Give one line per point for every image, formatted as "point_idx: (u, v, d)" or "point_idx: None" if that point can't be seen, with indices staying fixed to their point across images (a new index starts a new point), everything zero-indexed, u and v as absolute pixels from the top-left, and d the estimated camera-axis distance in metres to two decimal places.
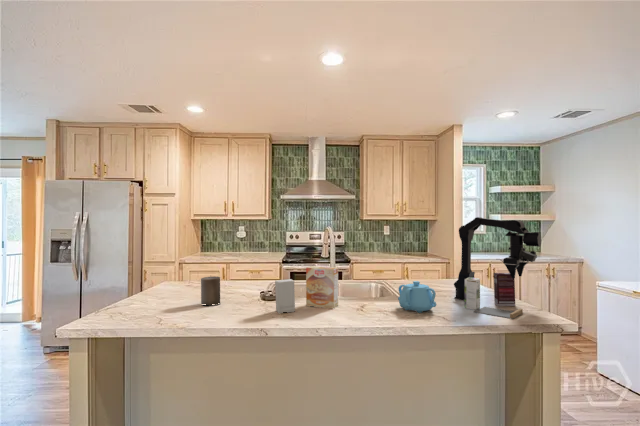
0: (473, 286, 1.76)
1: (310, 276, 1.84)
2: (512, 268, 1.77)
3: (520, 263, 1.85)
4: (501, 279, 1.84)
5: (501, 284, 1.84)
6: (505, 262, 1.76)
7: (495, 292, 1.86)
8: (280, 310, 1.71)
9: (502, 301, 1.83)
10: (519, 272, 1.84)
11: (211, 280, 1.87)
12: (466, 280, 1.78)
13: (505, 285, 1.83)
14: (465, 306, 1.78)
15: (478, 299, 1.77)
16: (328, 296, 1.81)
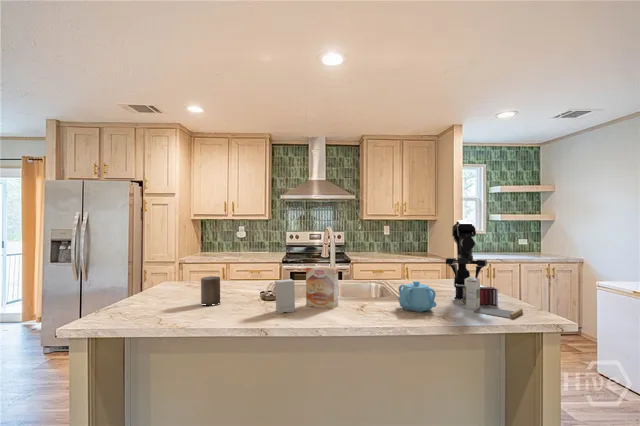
0: (473, 286, 1.76)
1: (310, 276, 1.84)
2: None
3: None
4: None
5: None
6: None
7: None
8: (280, 310, 1.71)
9: (493, 301, 1.84)
10: None
11: (211, 280, 1.87)
12: (466, 280, 1.78)
13: None
14: (465, 306, 1.78)
15: (478, 299, 1.77)
16: (328, 296, 1.81)
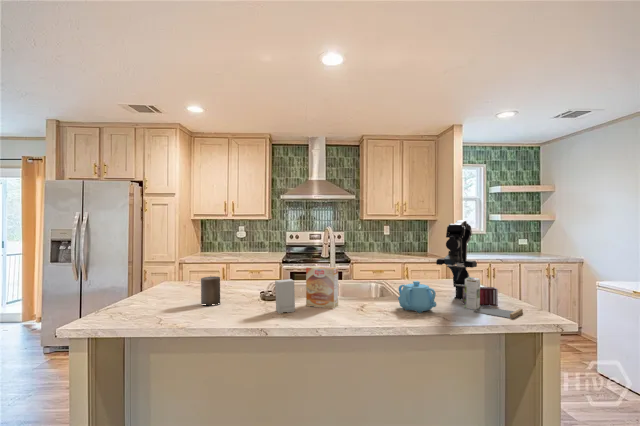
0: (473, 286, 1.76)
1: (310, 276, 1.84)
2: None
3: None
4: None
5: None
6: None
7: None
8: (280, 310, 1.71)
9: (493, 301, 1.84)
10: None
11: (211, 280, 1.87)
12: (466, 280, 1.78)
13: None
14: (465, 306, 1.78)
15: (478, 299, 1.77)
16: (328, 296, 1.81)
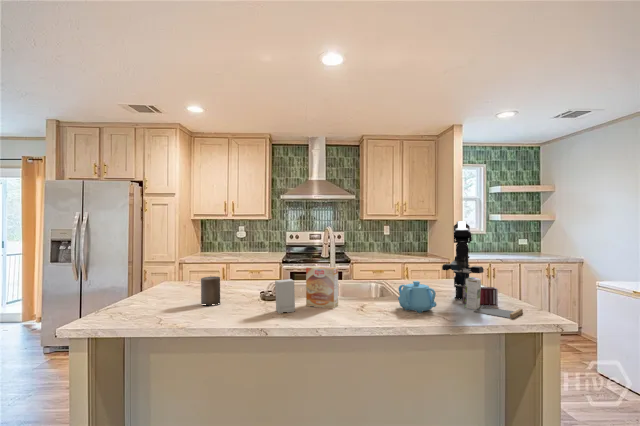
0: (473, 286, 1.76)
1: (310, 276, 1.84)
2: None
3: None
4: None
5: None
6: None
7: None
8: (280, 310, 1.71)
9: (493, 301, 1.84)
10: None
11: (211, 280, 1.87)
12: (467, 280, 1.78)
13: None
14: (465, 306, 1.78)
15: (478, 299, 1.77)
16: (328, 296, 1.81)
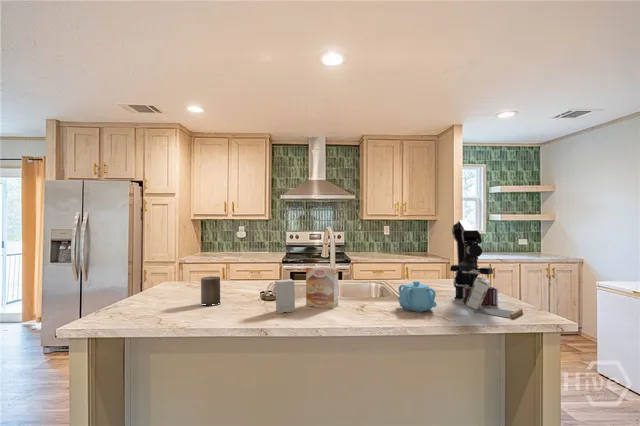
0: (481, 288, 1.74)
1: (310, 276, 1.84)
2: None
3: None
4: None
5: None
6: None
7: None
8: (280, 310, 1.71)
9: (493, 301, 1.84)
10: None
11: (211, 280, 1.87)
12: (477, 280, 1.75)
13: None
14: (466, 303, 1.78)
15: (482, 300, 1.76)
16: (328, 296, 1.81)
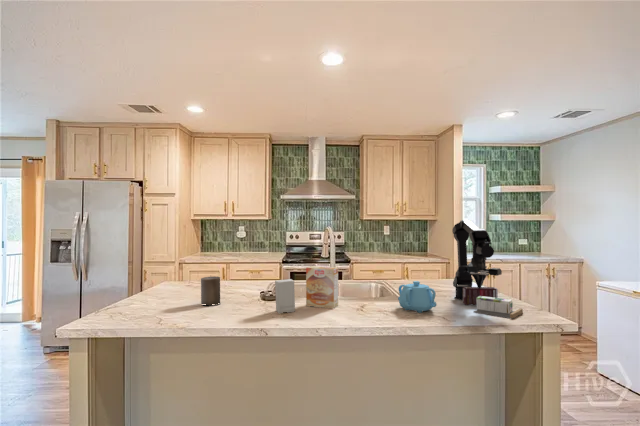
0: (501, 309, 1.68)
1: (310, 276, 1.84)
2: None
3: None
4: (470, 300, 1.85)
5: (475, 301, 1.84)
6: None
7: None
8: (280, 310, 1.71)
9: None
10: None
11: (211, 280, 1.87)
12: (507, 303, 1.66)
13: (476, 297, 1.84)
14: (478, 298, 1.74)
15: None
16: (328, 296, 1.81)
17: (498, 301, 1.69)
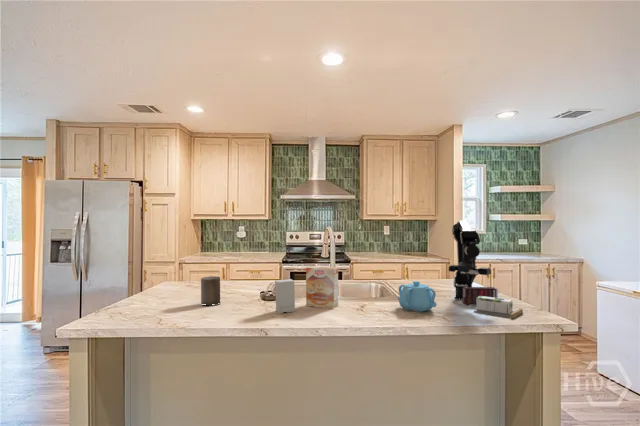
0: (501, 309, 1.68)
1: (310, 276, 1.84)
2: None
3: None
4: (470, 300, 1.85)
5: (475, 301, 1.84)
6: None
7: None
8: (280, 310, 1.71)
9: None
10: None
11: (211, 280, 1.87)
12: (507, 303, 1.66)
13: (476, 297, 1.84)
14: (478, 299, 1.74)
15: None
16: (328, 296, 1.81)
17: (498, 301, 1.69)
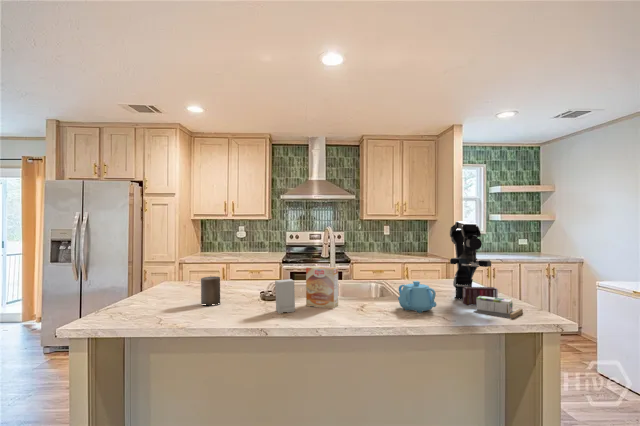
0: (501, 309, 1.68)
1: (310, 276, 1.84)
2: None
3: None
4: (470, 300, 1.85)
5: (475, 301, 1.84)
6: None
7: None
8: (280, 310, 1.71)
9: None
10: None
11: (211, 280, 1.87)
12: (507, 303, 1.66)
13: (476, 297, 1.84)
14: (478, 299, 1.74)
15: None
16: (328, 296, 1.81)
17: (498, 301, 1.69)
